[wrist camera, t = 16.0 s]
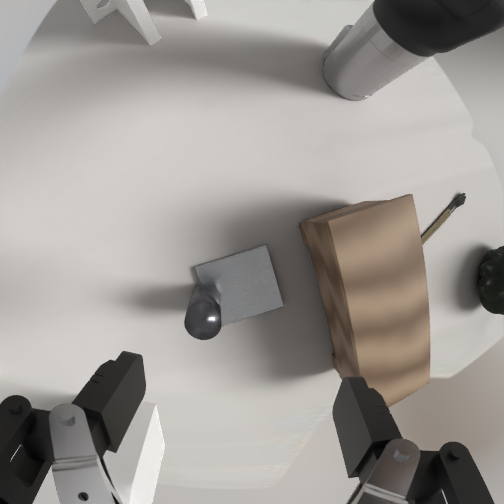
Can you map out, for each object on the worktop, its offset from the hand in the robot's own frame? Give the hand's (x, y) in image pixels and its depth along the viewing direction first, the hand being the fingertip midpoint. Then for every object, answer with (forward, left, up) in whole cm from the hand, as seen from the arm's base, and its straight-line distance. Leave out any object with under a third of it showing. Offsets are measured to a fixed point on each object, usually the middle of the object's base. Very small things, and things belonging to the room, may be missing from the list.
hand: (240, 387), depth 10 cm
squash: (+22, +53, -30) cm, 64 cm away
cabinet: (+11, +17, -29) cm, 35 cm away
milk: (+23, -26, -30) cm, 46 cm away
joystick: (+4, 0, -29) cm, 30 cm away
